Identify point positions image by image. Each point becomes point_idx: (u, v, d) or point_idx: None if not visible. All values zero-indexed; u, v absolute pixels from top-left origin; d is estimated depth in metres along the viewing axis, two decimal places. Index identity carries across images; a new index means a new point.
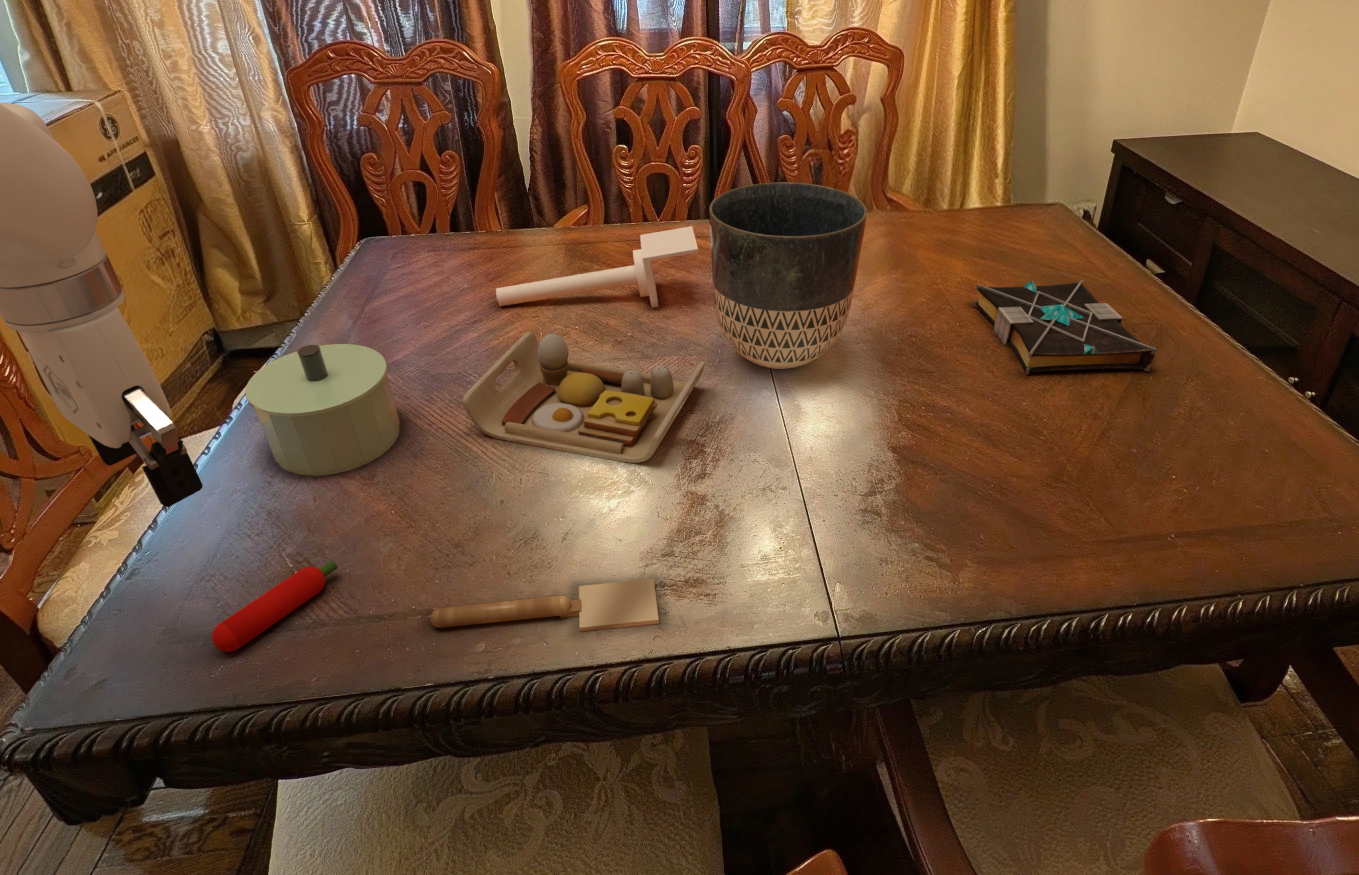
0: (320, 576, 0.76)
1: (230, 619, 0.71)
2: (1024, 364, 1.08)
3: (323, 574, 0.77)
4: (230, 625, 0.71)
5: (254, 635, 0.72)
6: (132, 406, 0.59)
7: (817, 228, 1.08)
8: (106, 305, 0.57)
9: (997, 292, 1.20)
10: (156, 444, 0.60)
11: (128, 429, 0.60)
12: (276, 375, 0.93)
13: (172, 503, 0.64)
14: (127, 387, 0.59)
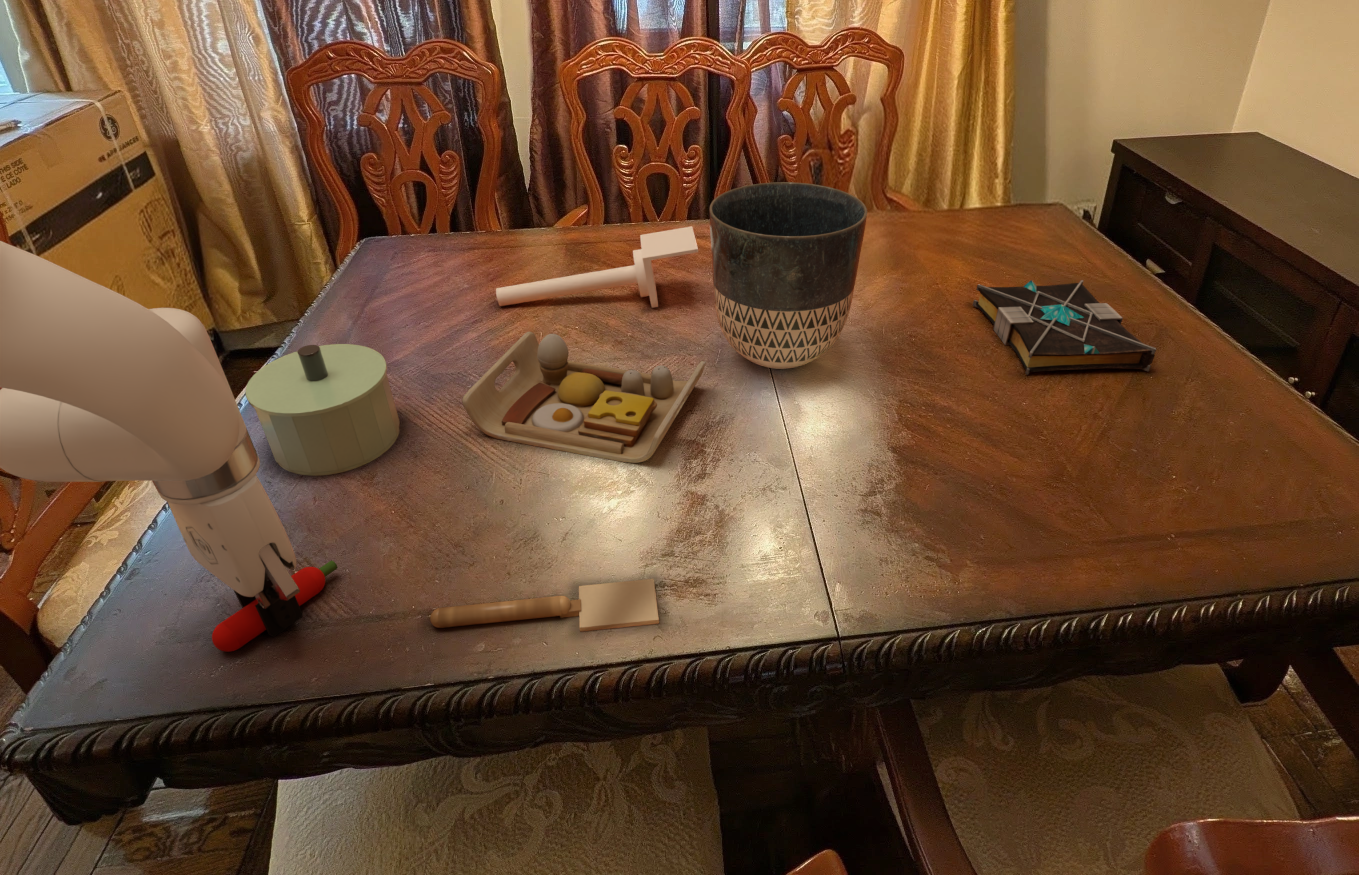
0: (320, 576, 0.76)
1: (230, 619, 0.71)
2: (1024, 364, 1.08)
3: (323, 574, 0.77)
4: (230, 625, 0.71)
5: (254, 635, 0.72)
6: (266, 568, 0.66)
7: (817, 228, 1.08)
8: (247, 475, 0.64)
9: (997, 292, 1.20)
10: (271, 590, 0.68)
11: None
12: (276, 375, 0.93)
13: (278, 633, 0.73)
14: (263, 545, 0.65)
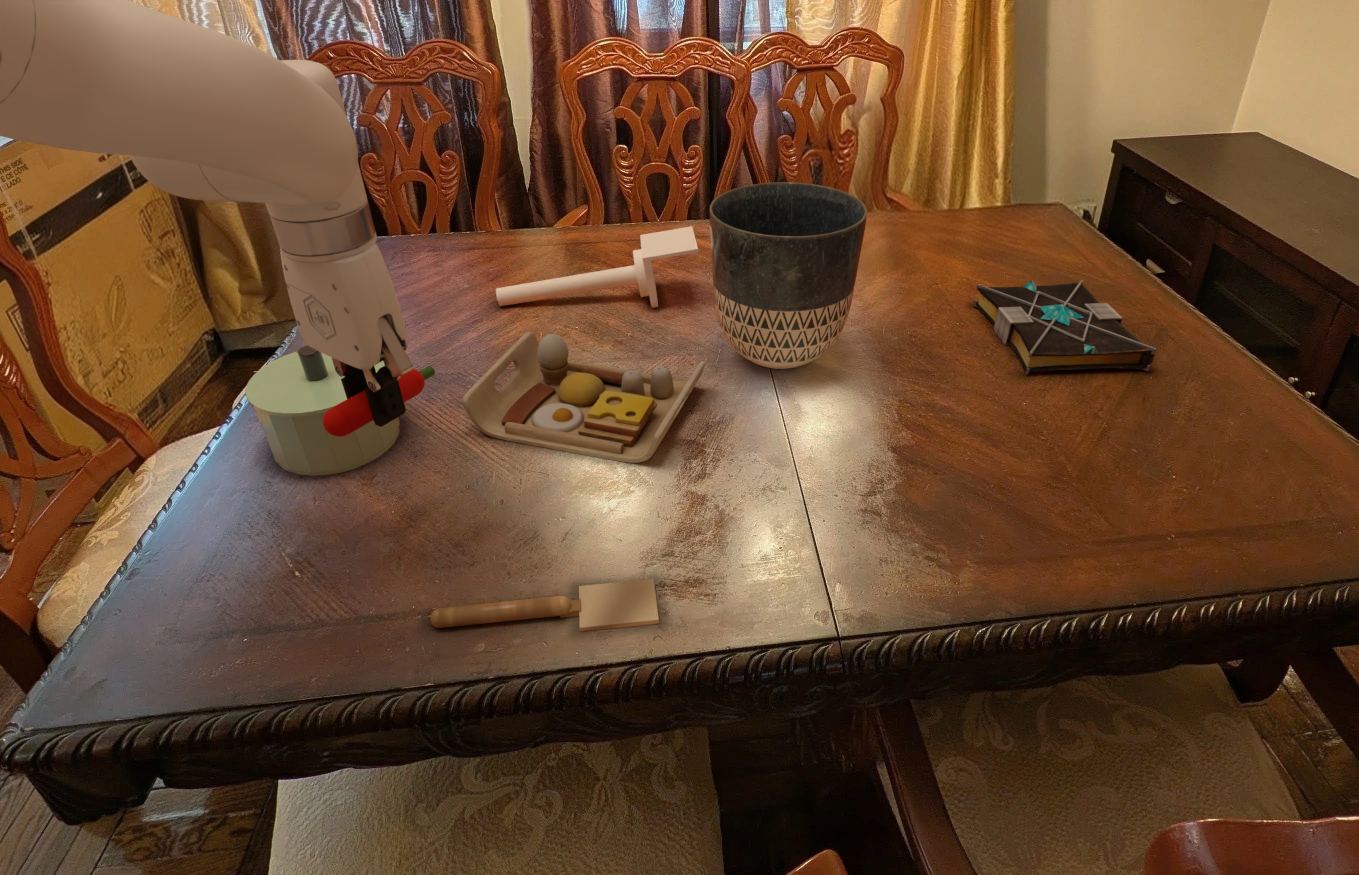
0: (421, 376, 0.78)
1: (340, 404, 0.73)
2: (1024, 364, 1.08)
3: (423, 376, 0.79)
4: (341, 409, 0.72)
5: (362, 422, 0.74)
6: (382, 340, 0.68)
7: (817, 228, 1.08)
8: (369, 241, 0.65)
9: (997, 292, 1.20)
10: (384, 368, 0.70)
11: None
12: (276, 375, 0.93)
13: (384, 423, 0.75)
14: (382, 314, 0.67)
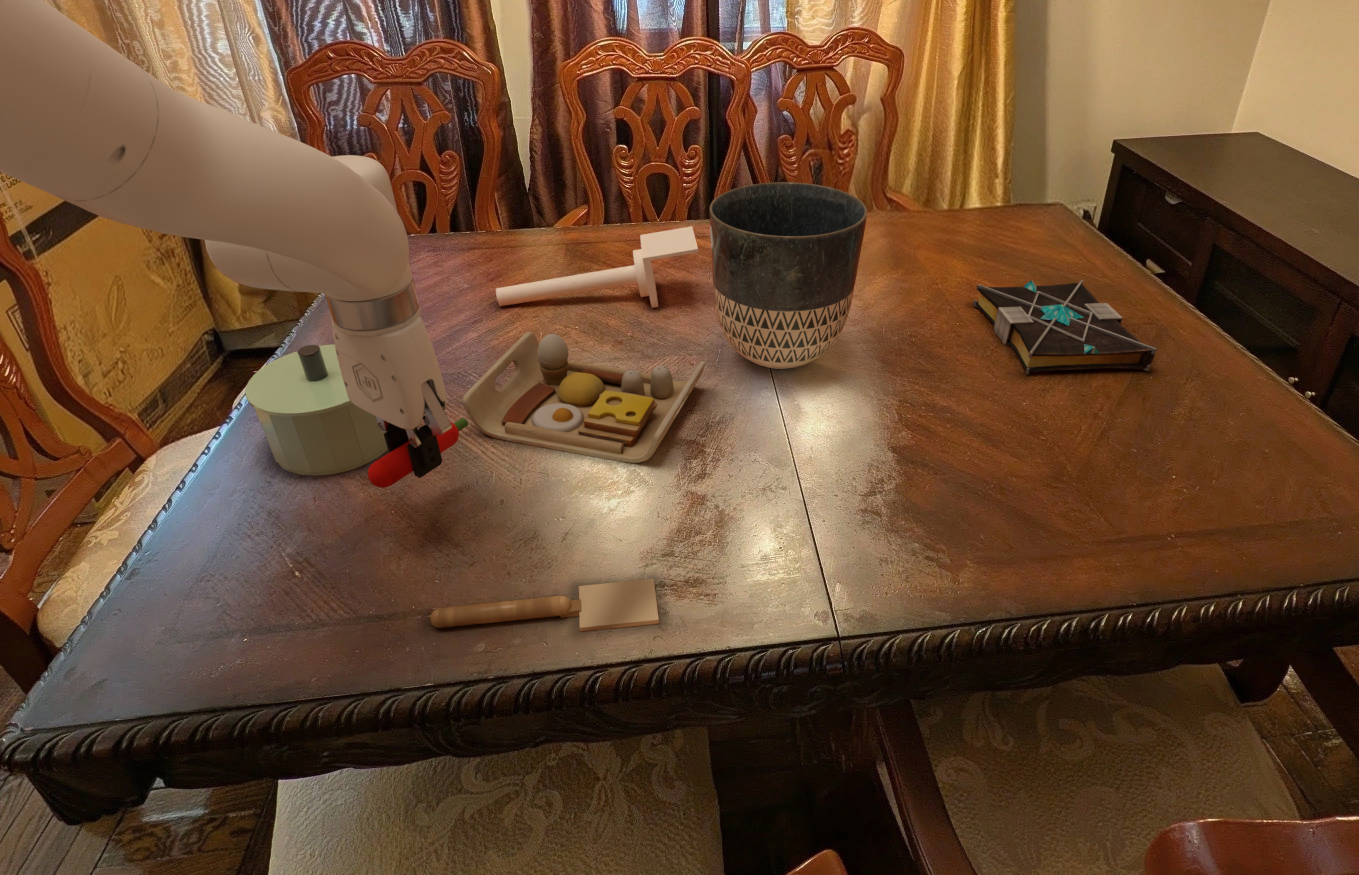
0: (455, 429, 0.84)
1: (384, 458, 0.79)
2: (1024, 364, 1.08)
3: (457, 428, 0.85)
4: (384, 463, 0.78)
5: (403, 474, 0.80)
6: (425, 403, 0.74)
7: (817, 228, 1.08)
8: (414, 314, 0.72)
9: (997, 292, 1.20)
10: (425, 427, 0.76)
11: None
12: (276, 375, 0.93)
13: (423, 475, 0.81)
14: (425, 380, 0.73)
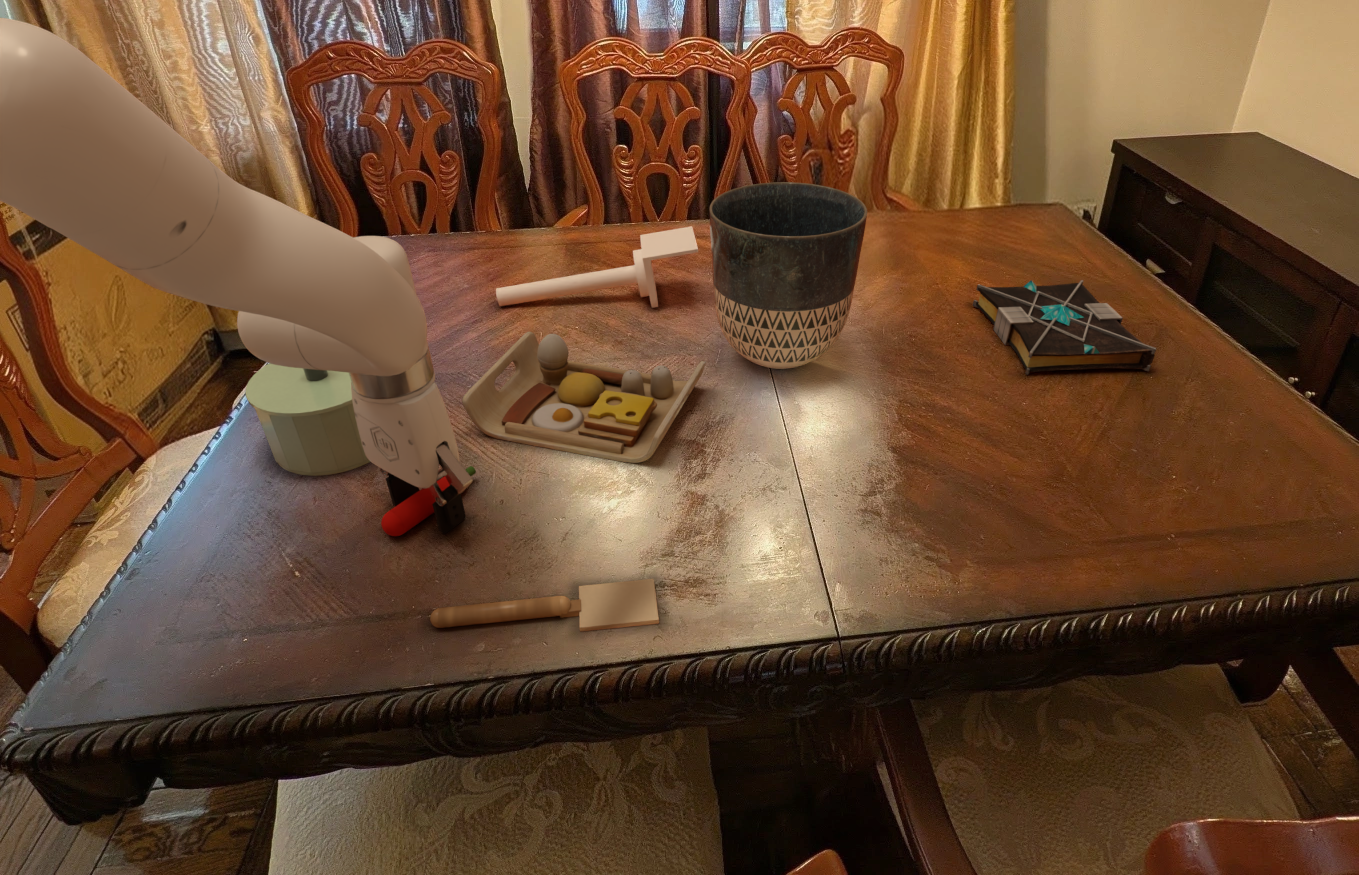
0: None
1: (395, 508, 0.83)
2: (1024, 364, 1.08)
3: None
4: (395, 511, 0.83)
5: (415, 521, 0.84)
6: (442, 460, 0.78)
7: (817, 228, 1.08)
8: (429, 381, 0.76)
9: (997, 292, 1.20)
10: (451, 487, 0.79)
11: None
12: (276, 375, 0.93)
13: (447, 530, 0.84)
14: (439, 442, 0.77)
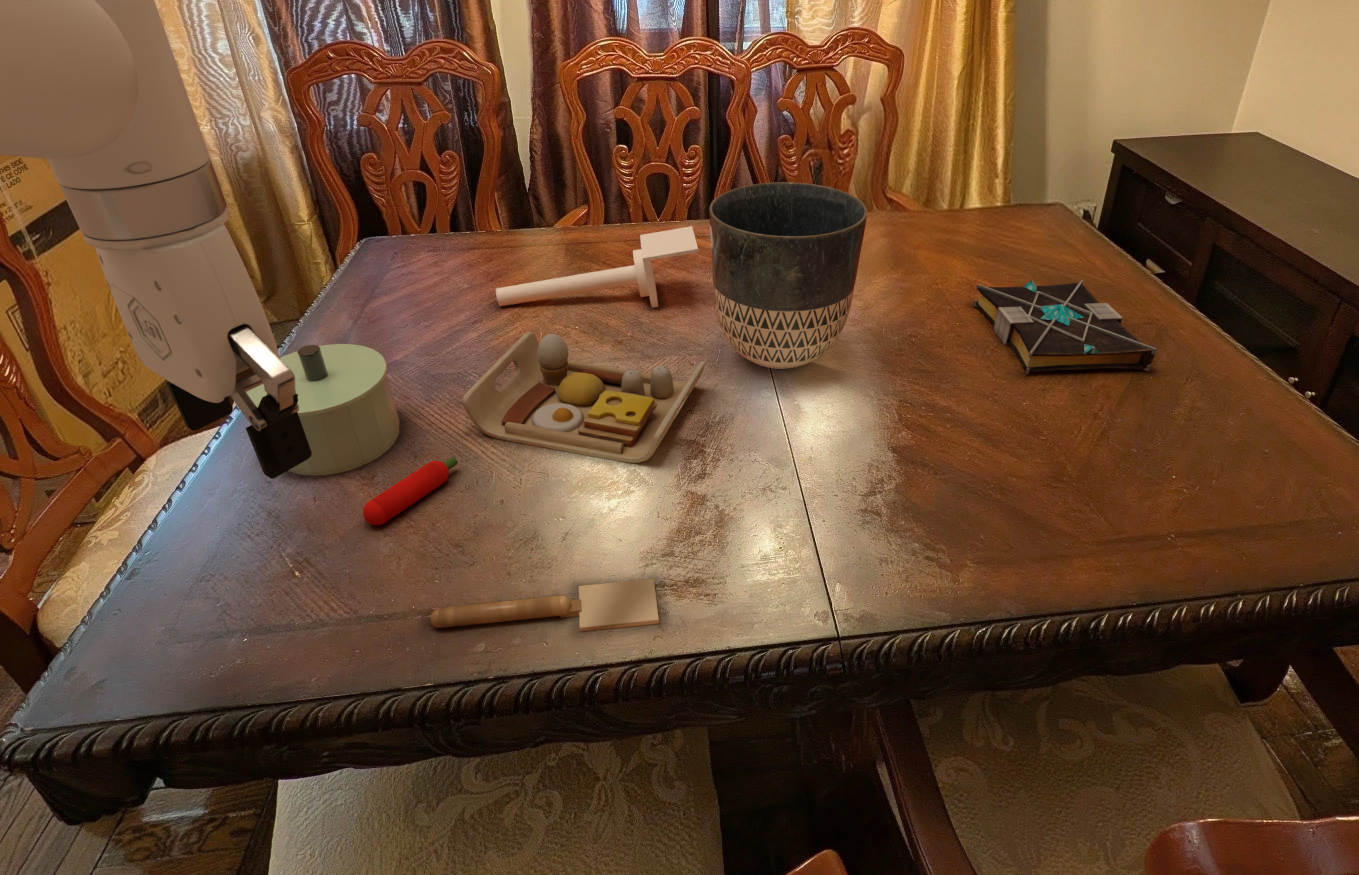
0: None
1: None
2: (1024, 364, 1.08)
3: None
4: None
5: (381, 493, 0.85)
6: (240, 349, 0.47)
7: (817, 228, 1.08)
8: (211, 220, 0.46)
9: (997, 292, 1.20)
10: (268, 397, 0.48)
11: (233, 379, 0.48)
12: None
13: (278, 474, 0.53)
14: (234, 325, 0.47)
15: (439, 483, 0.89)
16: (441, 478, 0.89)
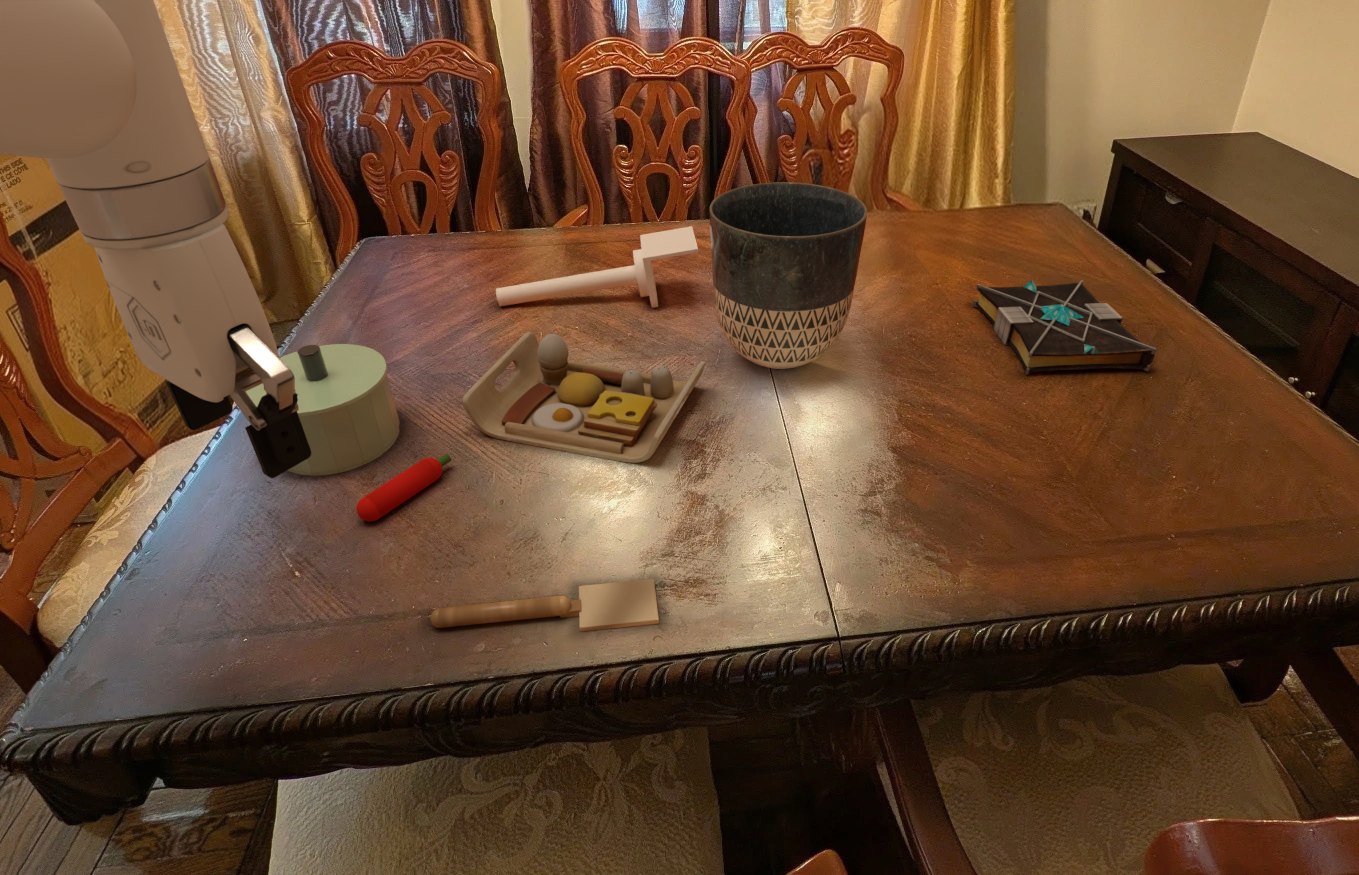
0: None
1: None
2: (1024, 364, 1.08)
3: None
4: None
5: None
6: (240, 348, 0.47)
7: (817, 228, 1.08)
8: (210, 219, 0.46)
9: (997, 292, 1.20)
10: (267, 397, 0.48)
11: (232, 378, 0.48)
12: None
13: (277, 473, 0.53)
14: (233, 324, 0.47)
15: (430, 472, 0.89)
16: (430, 467, 0.89)
